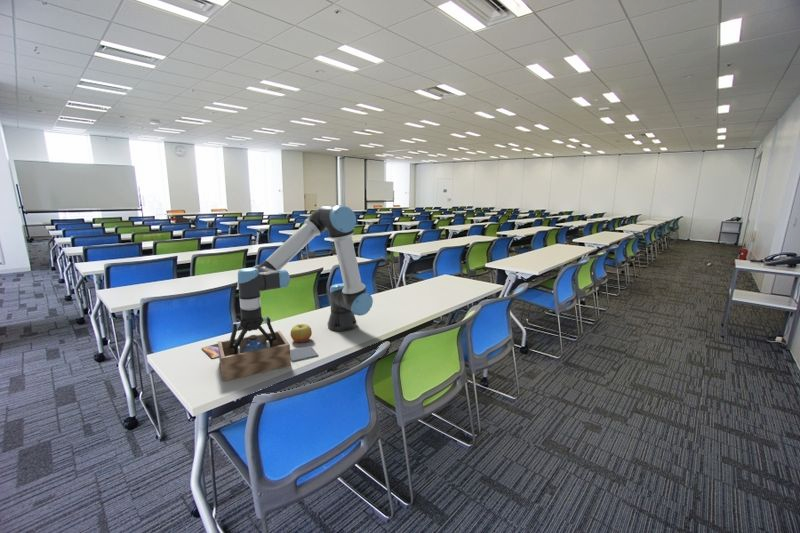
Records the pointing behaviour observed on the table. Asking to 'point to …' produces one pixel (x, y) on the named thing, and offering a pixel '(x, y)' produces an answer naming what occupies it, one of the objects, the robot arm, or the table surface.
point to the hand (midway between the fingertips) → (254, 359)
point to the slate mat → (302, 353)
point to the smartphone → (212, 351)
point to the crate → (253, 357)
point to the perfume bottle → (253, 344)
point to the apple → (301, 333)
